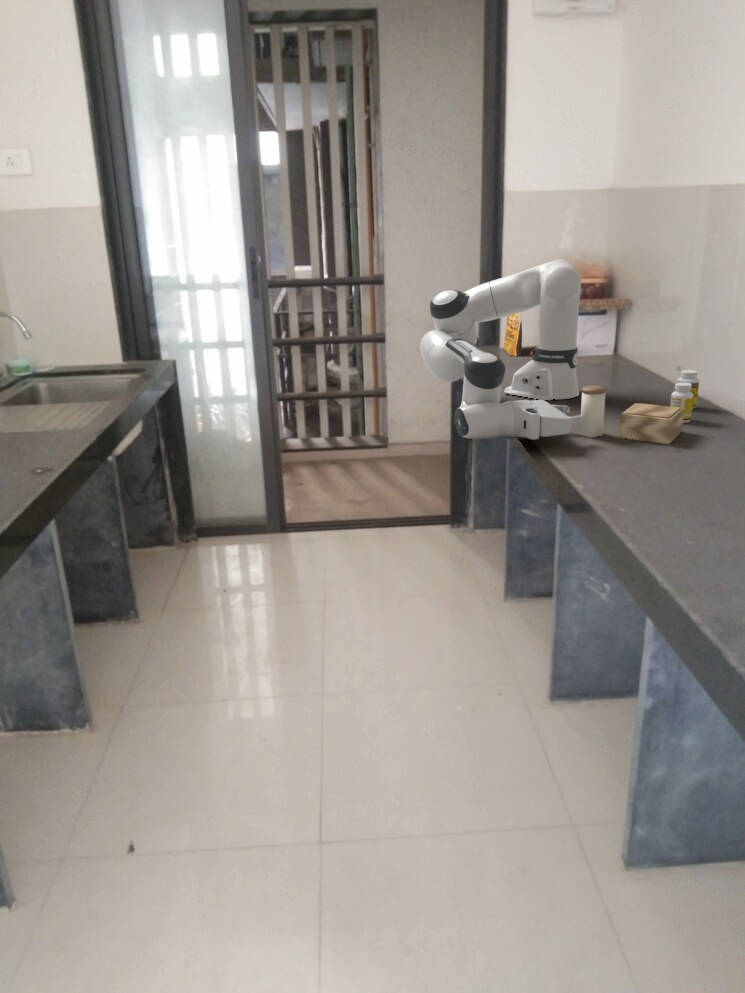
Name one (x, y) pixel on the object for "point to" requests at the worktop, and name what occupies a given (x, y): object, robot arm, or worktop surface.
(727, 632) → the worktop surface
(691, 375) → the supplement bottle
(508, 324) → the pancake mix bag
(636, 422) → the oak block
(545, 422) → the robot arm
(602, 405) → the cream tin
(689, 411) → the supplement bottle
